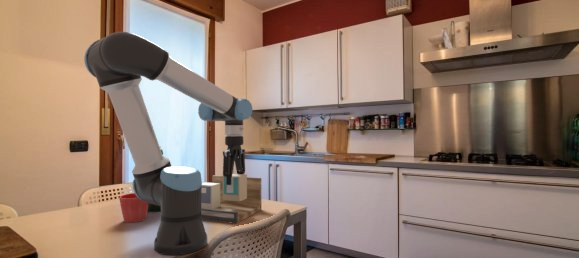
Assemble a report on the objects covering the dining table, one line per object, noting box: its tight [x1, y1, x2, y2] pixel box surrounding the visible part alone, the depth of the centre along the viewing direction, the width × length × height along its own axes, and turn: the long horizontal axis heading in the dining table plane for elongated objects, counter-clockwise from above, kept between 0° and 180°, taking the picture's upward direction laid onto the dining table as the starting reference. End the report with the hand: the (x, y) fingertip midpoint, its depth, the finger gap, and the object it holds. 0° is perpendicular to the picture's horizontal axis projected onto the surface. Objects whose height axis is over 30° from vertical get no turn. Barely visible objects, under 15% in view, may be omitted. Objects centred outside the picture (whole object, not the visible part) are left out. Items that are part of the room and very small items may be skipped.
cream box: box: [201, 181, 220, 209], centre depth 130 cm, size 6×8×10 cm
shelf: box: [201, 174, 262, 224], centre depth 127 cm, size 21×25×14 cm
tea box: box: [222, 173, 248, 201], centre depth 125 cm, size 8×6×10 cm
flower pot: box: [118, 192, 149, 223], centre depth 118 cm, size 11×11×10 cm
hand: (234, 190), depth 125 cm, fingers closed on tea box, 6 cm apart
